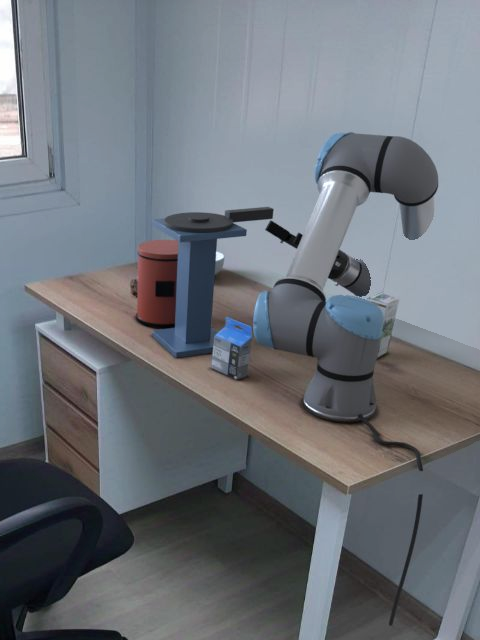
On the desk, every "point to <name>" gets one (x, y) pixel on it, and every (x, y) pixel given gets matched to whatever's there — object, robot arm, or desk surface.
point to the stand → (193, 291)
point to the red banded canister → (157, 283)
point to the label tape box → (232, 349)
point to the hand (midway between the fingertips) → (281, 231)
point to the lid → (215, 219)
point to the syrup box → (385, 318)
